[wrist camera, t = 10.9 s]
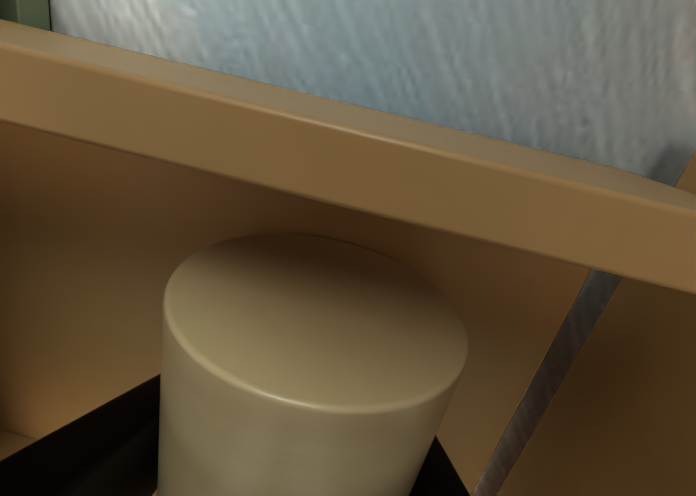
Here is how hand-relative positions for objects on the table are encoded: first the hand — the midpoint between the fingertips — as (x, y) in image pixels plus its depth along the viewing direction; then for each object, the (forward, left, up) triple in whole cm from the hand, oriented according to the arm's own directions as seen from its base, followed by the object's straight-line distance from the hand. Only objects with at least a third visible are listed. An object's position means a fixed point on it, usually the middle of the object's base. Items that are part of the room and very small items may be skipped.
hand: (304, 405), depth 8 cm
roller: (0, -1, -1) cm, 1 cm away
